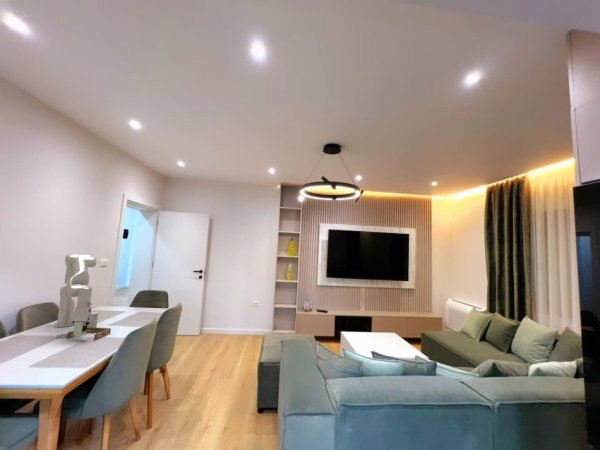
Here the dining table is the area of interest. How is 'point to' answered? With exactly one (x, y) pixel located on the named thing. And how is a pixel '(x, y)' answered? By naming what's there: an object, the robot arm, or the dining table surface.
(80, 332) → the sage block
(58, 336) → the slate coaster
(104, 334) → the wooden u-shaped frame
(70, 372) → the dining table surface
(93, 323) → the supplement box
